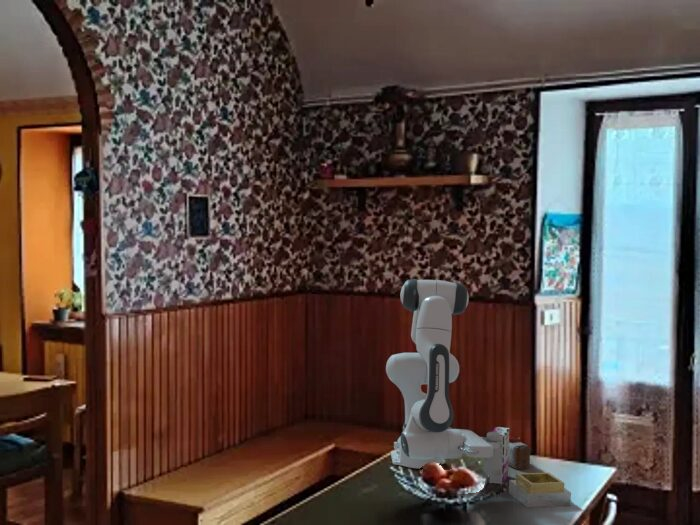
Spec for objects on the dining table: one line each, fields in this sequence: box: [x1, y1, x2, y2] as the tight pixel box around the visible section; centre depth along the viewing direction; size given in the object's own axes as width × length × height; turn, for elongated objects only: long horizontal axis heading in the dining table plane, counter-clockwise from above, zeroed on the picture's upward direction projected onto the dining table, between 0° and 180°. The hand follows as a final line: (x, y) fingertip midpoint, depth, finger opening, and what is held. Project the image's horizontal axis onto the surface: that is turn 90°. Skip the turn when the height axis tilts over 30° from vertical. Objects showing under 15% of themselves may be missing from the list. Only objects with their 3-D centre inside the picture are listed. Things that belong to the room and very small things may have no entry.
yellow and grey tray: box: [508, 472, 572, 508], centre depth 263 cm, size 14×14×6 cm
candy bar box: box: [488, 426, 510, 485], centre depth 282 cm, size 11×5×16 cm, turn 161°
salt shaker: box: [482, 431, 502, 477], centre depth 264 cm, size 6×6×13 cm
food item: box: [508, 436, 531, 470], centre depth 302 cm, size 14×8×10 cm, turn 21°
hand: (496, 443), depth 264 cm, fingers closed on salt shaker, 3 cm apart
